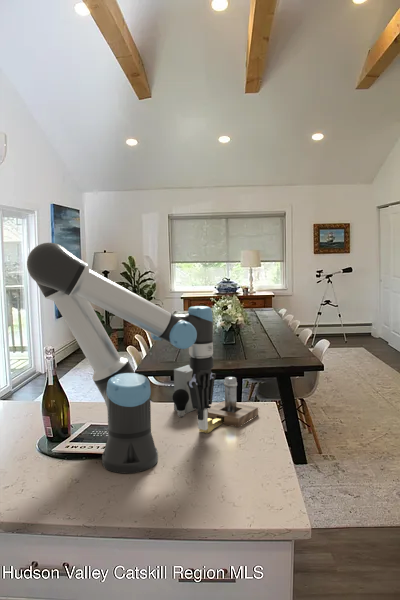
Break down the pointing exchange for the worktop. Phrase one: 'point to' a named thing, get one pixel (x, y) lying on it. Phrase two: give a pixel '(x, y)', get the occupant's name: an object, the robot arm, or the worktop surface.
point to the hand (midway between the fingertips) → (203, 428)
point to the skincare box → (183, 384)
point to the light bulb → (180, 400)
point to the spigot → (230, 394)
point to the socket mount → (233, 414)
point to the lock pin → (213, 424)
